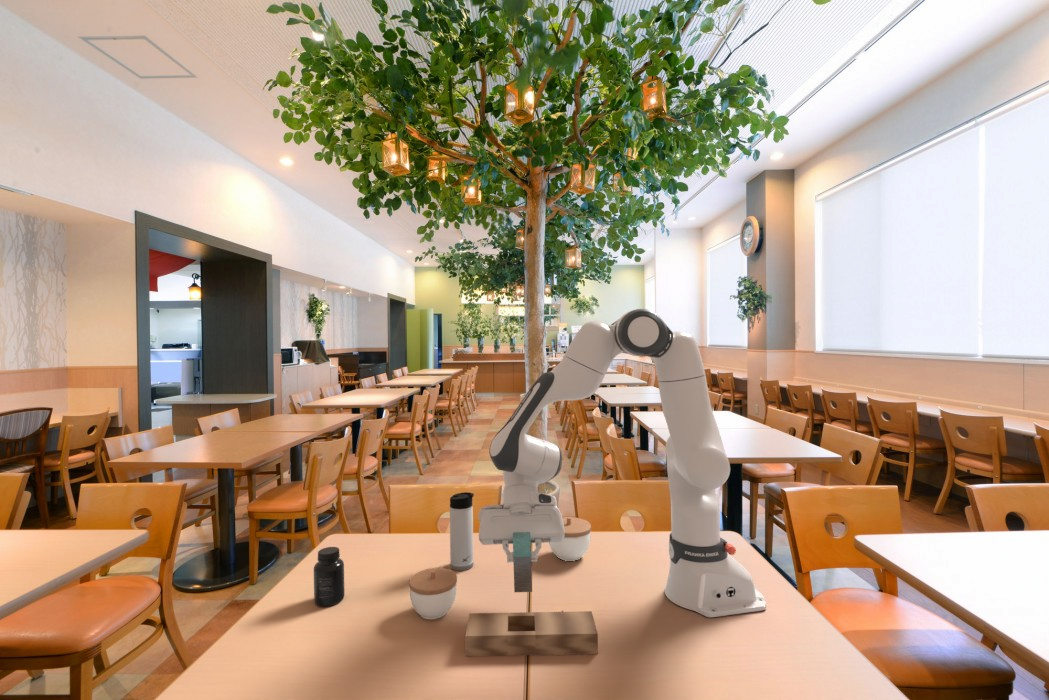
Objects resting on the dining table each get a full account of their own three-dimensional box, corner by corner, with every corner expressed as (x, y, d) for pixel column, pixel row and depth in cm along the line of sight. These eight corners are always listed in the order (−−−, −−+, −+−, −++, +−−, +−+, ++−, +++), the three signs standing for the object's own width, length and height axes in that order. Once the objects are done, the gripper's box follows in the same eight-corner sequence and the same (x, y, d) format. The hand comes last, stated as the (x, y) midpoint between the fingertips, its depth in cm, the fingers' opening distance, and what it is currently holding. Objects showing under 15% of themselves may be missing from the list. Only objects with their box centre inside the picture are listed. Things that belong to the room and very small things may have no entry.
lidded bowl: (594, 566, 133) (593, 526, 133) (548, 566, 134) (547, 526, 133) (588, 546, 146) (588, 510, 146) (546, 547, 146) (546, 510, 146)
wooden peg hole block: (591, 629, 104) (591, 611, 104) (597, 653, 96) (597, 633, 96) (469, 632, 104) (469, 613, 103) (465, 656, 96) (465, 636, 95)
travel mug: (470, 572, 131) (469, 497, 130) (447, 569, 132) (446, 496, 132) (477, 561, 137) (476, 490, 137) (455, 559, 138) (454, 489, 138)
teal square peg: (531, 583, 114) (530, 531, 113) (532, 591, 110) (530, 538, 109) (514, 583, 114) (513, 532, 113) (514, 592, 110) (512, 539, 109)
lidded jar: (439, 595, 119) (439, 556, 119) (466, 612, 111) (466, 571, 111) (400, 612, 111) (400, 571, 111) (426, 631, 104) (426, 588, 104)
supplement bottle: (350, 596, 119) (350, 547, 119) (328, 610, 112) (328, 558, 112) (330, 590, 122) (329, 542, 121) (307, 604, 115) (306, 553, 115)
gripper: (477, 499, 118) (475, 557, 108) (562, 496, 118) (567, 554, 109) (479, 511, 123) (477, 568, 113) (561, 508, 123) (565, 564, 113)
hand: (522, 561), depth 111 cm, fingers closed on teal square peg, 4 cm apart
